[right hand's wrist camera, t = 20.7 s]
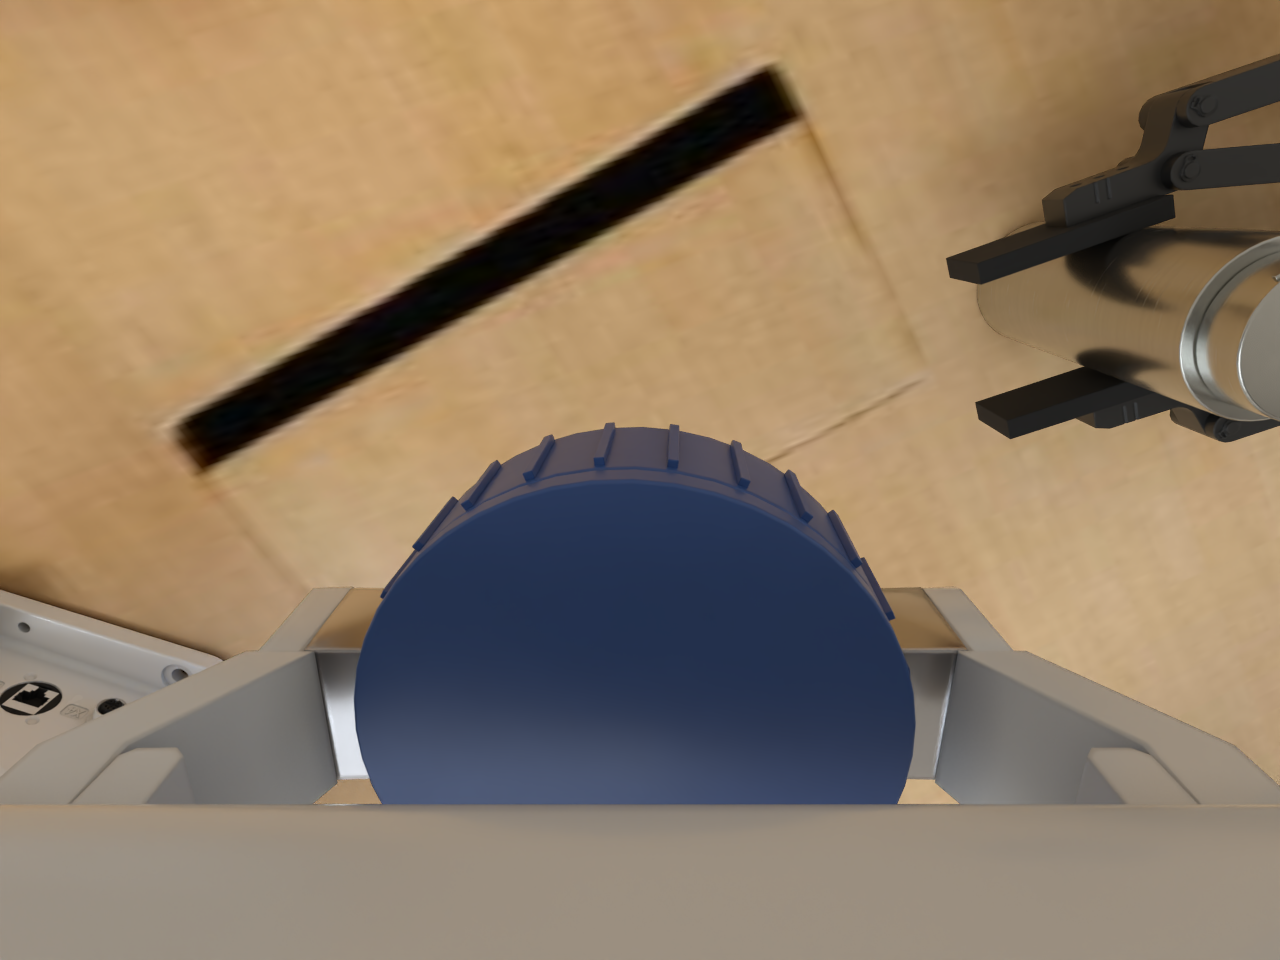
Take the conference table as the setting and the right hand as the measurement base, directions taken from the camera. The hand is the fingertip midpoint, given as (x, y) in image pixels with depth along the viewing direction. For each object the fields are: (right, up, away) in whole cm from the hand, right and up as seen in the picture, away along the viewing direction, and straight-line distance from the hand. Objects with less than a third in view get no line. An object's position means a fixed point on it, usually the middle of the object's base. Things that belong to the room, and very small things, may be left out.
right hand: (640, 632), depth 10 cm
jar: (+18, +11, +23) cm, 31 cm away
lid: (0, -1, -2) cm, 2 cm away
